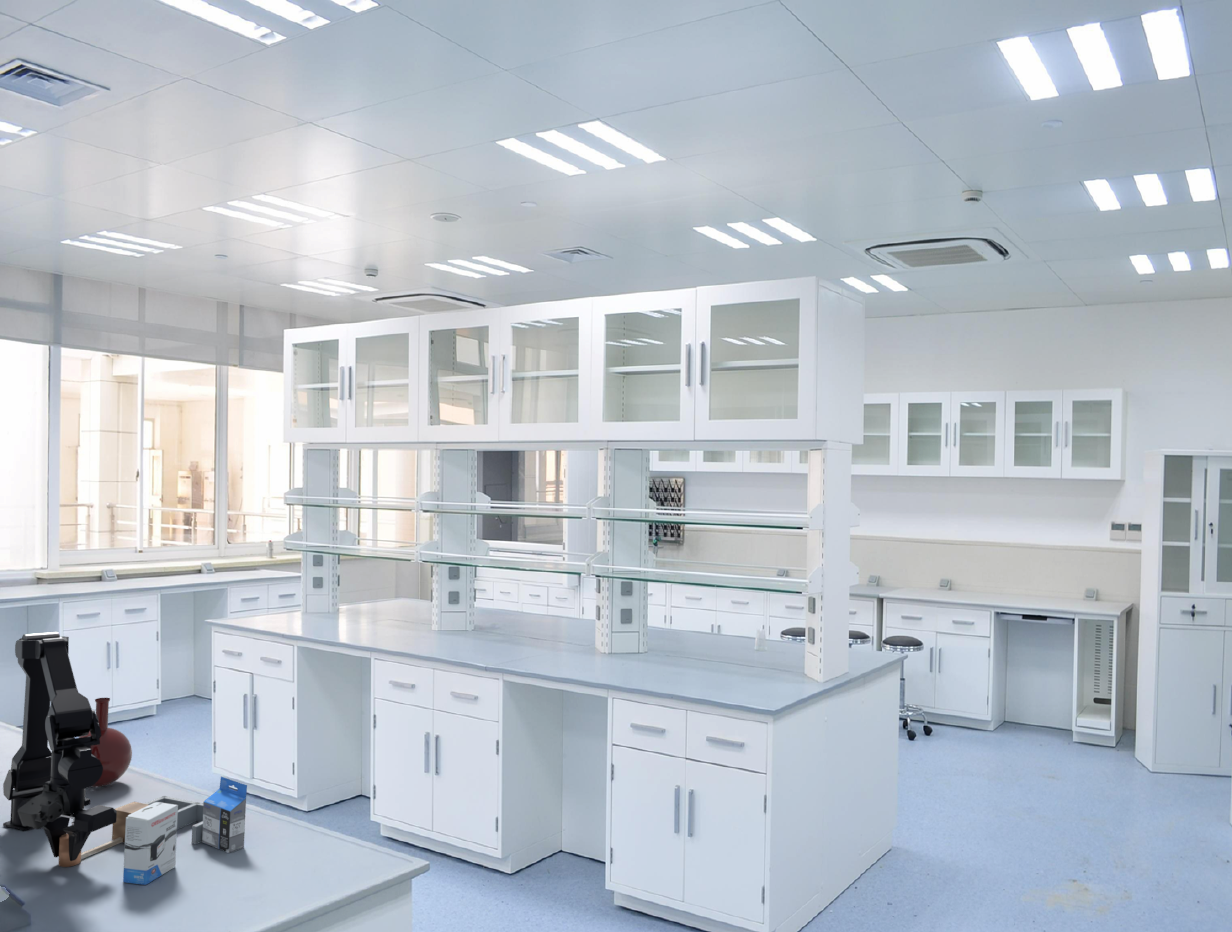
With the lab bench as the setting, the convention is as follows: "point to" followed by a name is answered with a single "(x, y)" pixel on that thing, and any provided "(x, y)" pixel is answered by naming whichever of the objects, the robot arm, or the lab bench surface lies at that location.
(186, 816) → the shelf lane
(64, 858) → the brown elongated piece
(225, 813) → the ink cartridge box
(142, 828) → the ink box
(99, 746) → the round-bottom flask
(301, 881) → the lab bench surface
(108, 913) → the lab bench surface
